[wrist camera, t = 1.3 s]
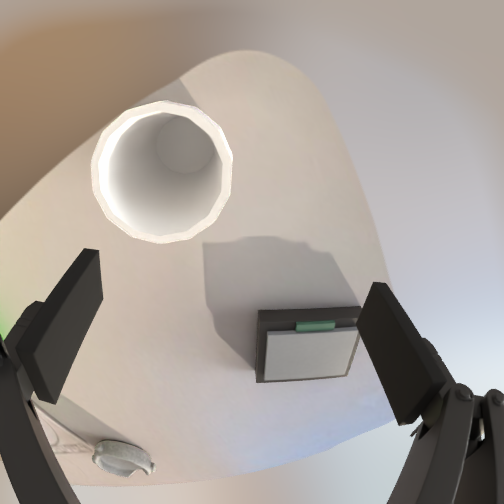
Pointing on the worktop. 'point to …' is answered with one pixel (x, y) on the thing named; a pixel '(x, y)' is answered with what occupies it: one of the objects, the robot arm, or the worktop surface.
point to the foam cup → (162, 171)
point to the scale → (305, 343)
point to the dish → (122, 458)
